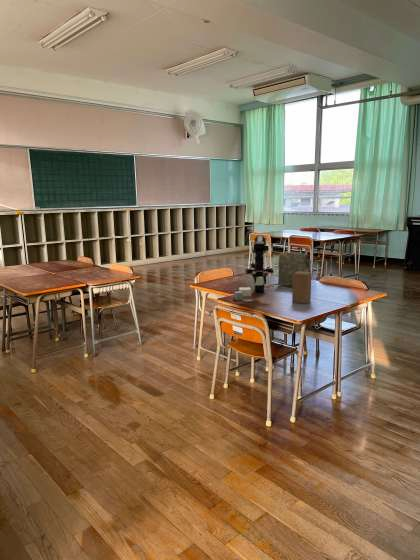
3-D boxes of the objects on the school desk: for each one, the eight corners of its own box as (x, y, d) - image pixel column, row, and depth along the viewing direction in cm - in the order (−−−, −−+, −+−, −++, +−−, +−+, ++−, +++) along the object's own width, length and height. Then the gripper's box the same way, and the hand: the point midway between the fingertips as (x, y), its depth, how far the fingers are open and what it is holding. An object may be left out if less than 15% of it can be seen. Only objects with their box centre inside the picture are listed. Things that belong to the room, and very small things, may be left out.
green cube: (261, 283, 291) (261, 276, 290) (263, 285, 286) (263, 278, 285) (254, 283, 290) (254, 276, 289) (256, 285, 285) (256, 278, 284)
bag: (310, 285, 330) (312, 251, 325) (303, 289, 317) (304, 253, 312) (284, 282, 343) (285, 249, 337) (276, 286, 330) (277, 251, 324)
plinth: (249, 294, 304) (250, 287, 303) (251, 296, 296) (251, 289, 295) (239, 294, 304) (239, 287, 303) (239, 296, 296) (239, 289, 295)
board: (253, 299, 286) (253, 299, 286) (255, 301, 280) (256, 301, 280) (242, 300, 285) (242, 299, 285) (244, 302, 279) (244, 301, 279)
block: (306, 304, 272) (307, 274, 268) (291, 302, 277) (292, 273, 273) (310, 301, 281) (312, 272, 277) (296, 299, 286) (297, 270, 282)
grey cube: (241, 298, 291) (241, 291, 290) (242, 299, 286) (242, 292, 285) (234, 298, 291) (234, 291, 290) (235, 300, 286) (235, 293, 285)
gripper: (269, 258, 294) (268, 280, 297) (243, 259, 292) (243, 281, 295) (273, 261, 283) (273, 283, 286) (247, 261, 281) (246, 284, 284)
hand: (259, 283), depth 288 cm, fingers closed on green cube, 5 cm apart
